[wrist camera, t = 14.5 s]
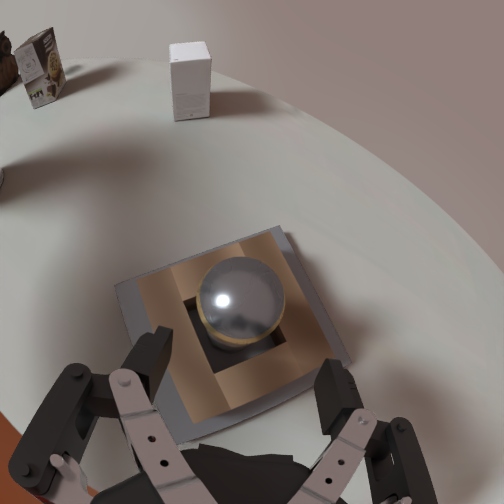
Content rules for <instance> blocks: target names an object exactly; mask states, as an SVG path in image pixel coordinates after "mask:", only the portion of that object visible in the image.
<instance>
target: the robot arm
mask: <svg viewBox="0 0 504 504" xmlns="http://www.w3.org/2000/svg"><path fill="white" fill-rule="evenodd" d="M3 176H4V174H3V171H2V169H1V168H0V187H1V184H2V181H3ZM172 342H173V329H171V328H167V327H164V326H160V325H159V326H158V327H157V329H156V331H155V333H154V334H153V333H149V332H146V333H145V334H143V335H142V336H140V337H139V339H138V340H137V342H136V344H135V345H134V347H133V349H132V350H131V352H130V353H129V355H128V357H127V358H126V360H125V361H124V363H123V365H122V366H121V368H120V369H117V370H115V371H113V372H112V373H111V374H109V375H100V374H92V373H91V371H90V369H89V368H88V367H87V366H85V365H83V364H80V363H73V364H70V365H68V366H67V367H65V369H64V370H63V371H62V373H61V374H60V376H59V377H58V379H57V380H56V382H55V383H54V385H53V386H52V388H51V390H50V391H49V393H48V394H47V396H46V397H45V399H44V401H43V402H42V404H41V405H40V407H39V409H38V410H37V412H36V414H35V415H34V417H33V419H32V420H31V422H30V424H29V425H28V427H27V429H26V431H25V432H24V434H23V436H22V438H21V440H20V442H19V443H18V445H17V447H16V449H15V451H14V453H13V455H12V457H11V459H10V461H9V465H8V468H9V473H10V475H11V477H12V478H13V479H14V481H15V482H16V483H18V484H19V485H20V486H21V487H22V488H24V489H25V490H26V491H28V492H29V493H30V494H31V495H33V496H34V497H35V498H37V499H38V500H40V501H41V502H42V503H44V504H347V503H346V502H345V501H344V500H343V499H342V498H341V497H340V495H341V494H342V492H343V490H344V489H345V487H346V486H347V484H348V483H349V481H350V479H351V478H352V476H353V474H354V472H355V471H356V469H357V467H358V465H359V464H360V462H361V460H362V458H363V457H365V462H366V467H367V473H368V478H369V484H370V490H371V496H372V502H373V504H438V502H437V498H436V495H435V491H434V488H433V485H432V481H431V478H430V475H429V472H428V469H427V466H426V463H425V460H424V457H423V454H422V451H421V448H420V445H419V443H418V440H417V437H416V435H415V432H414V429H413V427H412V424H411V423H410V422H409V421H408V420H407V419H405V418H402V417H396V418H394V419H393V420H392V421H391V422H390V423H388V422H383V421H379V420H377V418H376V416H375V415H374V414H373V413H372V412H371V411H369V410H367V409H364V406H363V403H362V401H361V398H360V395H359V392H358V390H357V387H356V384H355V381H354V378H353V376H352V375H351V373H350V372H349V371H348V370H347V369H343V366H342V363H341V361H340V360H339V359H330V358H326V359H325V360H324V362H323V364H322V366H321V368H320V370H319V372H318V374H317V376H316V378H315V381H314V391H315V396H316V402H317V407H318V412H319V417H320V423H321V428H322V434H323V435H331V441H330V442H329V444H328V445H327V447H326V448H325V449H324V451H323V452H322V453H321V455H320V456H319V457H318V459H317V460H316V461H315V463H314V464H313V465H312V466H311V467H310V469H309V468H307V467H306V466H304V465H302V464H300V463H297V462H294V461H293V455H278V454H266V455H257V456H244V455H241V454H238V453H235V452H232V451H230V450H227V449H224V448H221V447H215V446H210V445H205V444H200V443H199V448H198V449H187V450H182V451H179V449H178V447H177V446H176V444H175V442H174V440H173V438H172V437H171V435H170V433H169V431H168V429H167V428H166V426H165V424H164V422H163V420H162V418H161V416H160V414H159V413H158V411H157V410H154V409H153V407H152V403H153V401H154V398H155V396H156V393H157V391H158V388H159V386H160V383H161V381H162V379H163V376H164V374H165V371H166V369H167V367H168V364H169V362H170V358H171V354H172ZM99 417H108V418H117V419H118V422H119V425H120V427H121V430H122V432H123V435H124V437H125V440H126V442H127V445H128V447H129V450H130V452H131V455H132V458H133V460H134V462H135V464H136V467H137V469H138V471H139V473H138V474H136V475H134V476H132V477H131V478H129V479H127V480H125V481H123V482H121V483H119V484H117V485H115V486H112V487H110V488H108V489H106V490H104V491H102V492H100V493H98V494H97V495H96V496H95V497H92V496H90V495H89V494H88V492H87V477H86V475H85V473H84V472H83V470H82V469H81V467H80V466H79V464H80V461H81V459H82V456H83V454H84V451H85V449H86V446H87V444H88V441H89V439H90V437H91V434H92V432H93V429H94V427H95V425H96V423H97V420H98V418H99ZM391 453H392V457H393V461H394V465H393V461H392V457H391Z"/></svg>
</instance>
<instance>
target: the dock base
mask: <svg viewBox="0 0 504 504" xmlns="http://www.w3.org/2000/svg"><path fill="white" fill-rule="evenodd" d="M269 231H270V232H271V234H272V236H273V238H274V239H275V241H276V243H277V245H278V247H279V249H280V251H281V252H282V254H283V256H284V258H285V260H286V262H287V264H288V265H289V267H290V269H291V271H292V273H293V275H294V277H295V279H296V281H297V283H298V284H299V286H300V288H301V290H302V292H303V294H304V296H305V298H306V300H307V302H308V304H309V306H310V308H311V310H312V311H313V313H314V315H315V317H316V319H317V321H318V323H319V325H320V327H321V329H322V331H323V333H324V335H325V337H326V339H327V341H328V343H329V345H330V347H331V349H332V351H333V353H334V355H335V358H333V359H339V360H340V361H341V363H342V366H343V368H344V367H345V366H347V365H349V364H350V363H352V362H351V360H350V358H349V356H348V354H347V352H346V350H345V348H344V346H343V344H342V342H341V340H340V338H339V336H338V334H337V332H336V330H335V328H334V326H333V324H332V322H331V320H330V318H329V316H328V314H327V312H326V310H325V308H324V307H323V305H322V303H321V301H320V299H319V297H318V295H317V293H316V291H315V289H314V287H313V286H312V284H311V282H310V280H309V278H308V276H307V274H306V273H305V271H304V269H303V267H302V265H301V263H300V261H299V260H298V258H297V256H296V254H295V252H294V250H293V249H292V247H291V245H290V243H289V241H288V240H287V238H286V236H285V234H284V232H283V231H282V229H281V227H280V225H279V226H276V227H273V228H270V229H267V230H264V231H261V232H259V233H256V234H253V235H250V236H247V237H244V238H241V239H239V240H236V241H233V242H230V243H227V244H225V245H222V246H219V247H216V248H213V249H211V250H208V251H205V252H202V253H200V254H197V255H194V256H191V257H189V258H186V259H183V260H180V261H178V262H175V263H172V264H169V265H167V266H164V267H161V268H159V269H156V270H153V271H151V272H148V273H145V274H142V275H140V276H137V277H134V278H132V279H129V280H127V281H124V282H121V283H119V284H116V285H114V287H115V290H116V294H117V298H118V301H119V305H120V308H121V312H122V315H123V318H124V321H125V325H126V328H127V331H128V334H129V337H130V340H131V343H132V345H133V347H134V345H135V344H136V342H137V340H138V339H139V337H140V336H142V335H143V334H145V333H146V332H149V333H153V334H154V332H153V329H152V326H151V324H150V321H149V318H148V315H147V312H146V309H145V306H144V303H143V300H142V297H141V294H140V290H139V287H138V284H137V281H136V280H137V279H139V278H142V277H145V276H147V275H150V274H153V273H155V272H158V271H161V270H163V269H166V268H169V267H172V266H174V265H177V264H180V263H182V262H185V261H188V260H191V259H193V258H196V257H199V256H202V255H204V254H207V253H210V252H213V251H215V250H218V249H221V248H224V247H226V246H229V245H232V244H235V243H238V242H240V241H243V240H246V239H249V238H252V237H254V236H257V235H260V234H263V233H266V232H269ZM188 314H189V316H190V319H191V321H192V324H193V326H194V329H195V331H196V333H197V336H198V338H199V340H200V343H201V345H202V347H203V350H204V352H205V354H206V356H207V359H208V361H209V363H210V365H211V367H212V370H213V372H214V373H216V372H219V371H221V370H224V369H226V368H228V367H231V366H233V365H236V364H238V363H240V362H242V361H245V360H247V359H249V358H252V357H254V356H256V355H258V354H260V353H263V352H265V351H267V350H269V349H271V348H273V347H275V344H274V342H273V340H272V338H271V336H270V334H269V335H267V336H266V337H265V338H263V339H261V340H259V341H257V342H255V343H251V344H249V345H248V346H246V347H245V348H244V349H242V350H240V351H238V352H235V353H225V352H222V351H220V350H218V349H216V348H215V347H214V346H213V345H212V344H211V342H210V340H209V338H208V335H207V330H206V327H205V326H204V324H203V323H202V321H201V319H200V316H199V313H198V309H194V310H192V311H189V312H188ZM321 366H322V365H321ZM321 366H319V367H318V368H316V369H314V370H312V371H311V372H309V373H307V374H305V375H303V376H301V377H300V378H298V379H296V380H294V381H292V382H290V383H288V384H286V385H284V386H282V387H280V388H278V389H276V390H274V391H272V392H270V393H268V394H266V395H264V396H261V397H259V398H257V399H255V400H253V401H250V402H248V403H246V404H244V405H241V406H239V407H237V408H234V409H232V410H229V411H227V412H224V413H222V414H219V415H217V416H214V417H212V418H209V419H206V420H203V421H201V422H198V423H195V424H193V422H192V420H191V418H190V416H189V414H188V412H187V410H186V408H185V405H184V403H183V401H182V399H181V397H180V395H179V393H178V391H177V388H176V386H175V384H174V382H173V379H172V377H171V375H170V372H169V370H168V368H167V369H166V371H165V374H164V376H163V379H162V381H161V383H160V386H159V388H158V391H157V393H156V396H155V398H154V401H155V403H156V405H157V407H158V409H159V411H160V414H161V416H162V418H163V420H164V422H165V424H166V426H167V428H168V430H169V432H170V434H171V436H172V437H173V439H174V441H175V443H176V445H177V444H181V443H184V442H187V441H190V440H193V439H196V438H199V437H202V436H205V435H207V434H210V433H213V432H216V431H218V430H221V429H223V428H226V427H229V426H231V425H234V424H236V423H238V422H241V421H243V420H245V419H248V418H250V417H252V416H255V415H257V414H259V413H261V412H263V411H265V410H268V409H270V408H272V407H274V406H276V405H278V404H280V403H282V402H284V401H286V400H288V399H290V398H292V397H294V396H296V395H297V394H299V393H301V392H303V391H305V390H307V389H308V388H310V387H312V386H314V381H315V378H316V376H317V374H318V372H319V370H320V368H321Z"/></svg>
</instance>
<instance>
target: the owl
mask: <svg viewBox="0 0 504 504" xmlns="http://www.w3.org/2000/svg"><path fill="white" fill-rule="evenodd" d="M4 33H5V32H4V31H2V32H1V33H0V96H1V95H2V94H3V93H5V92H6V90H7V89H8V88H10V87H11V85H12V84H13V83H15V82H16V81H17V79H18V77H19V74H18V69H19V68H18V65H17V62H16V59H15V55H12V54H11V48H12V46H11V42H10V41H9V38H7V37H6V36H5V35H4Z"/></svg>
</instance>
